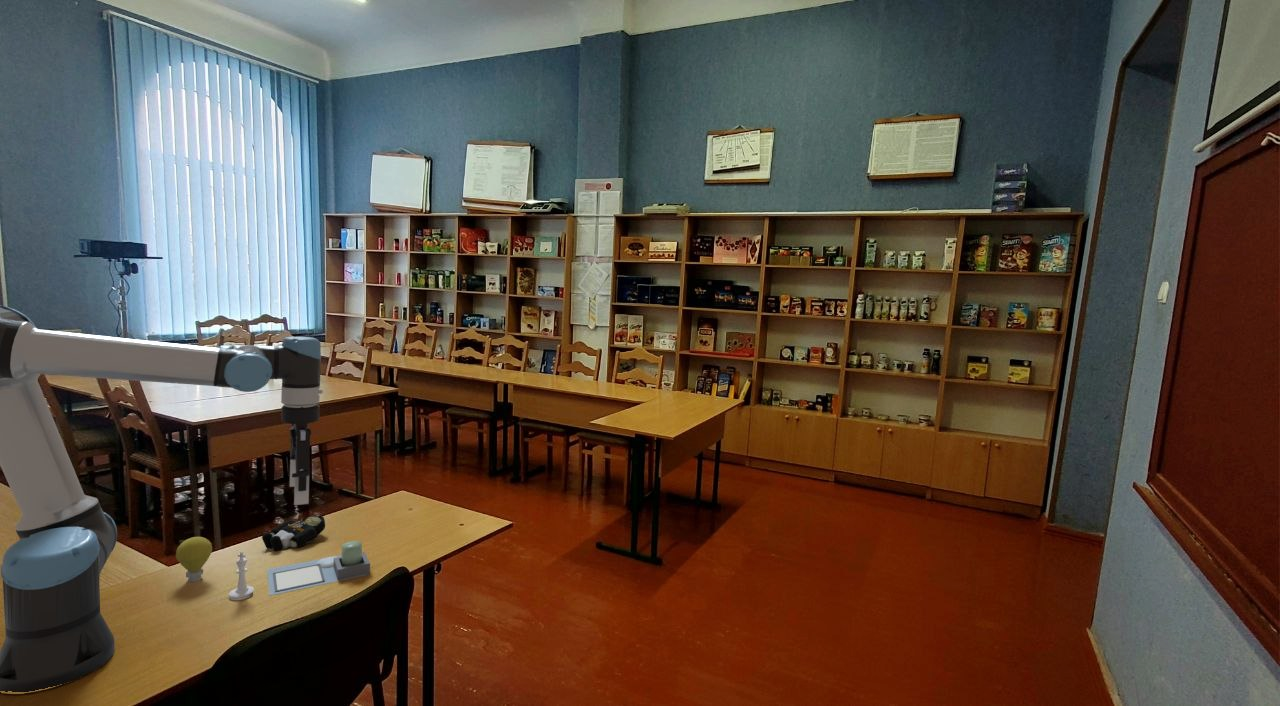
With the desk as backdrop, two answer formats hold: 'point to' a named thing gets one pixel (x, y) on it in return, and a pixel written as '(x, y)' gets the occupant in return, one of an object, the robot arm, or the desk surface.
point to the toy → (294, 533)
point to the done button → (351, 553)
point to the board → (314, 574)
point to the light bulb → (194, 556)
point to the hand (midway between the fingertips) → (298, 494)
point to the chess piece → (241, 581)
